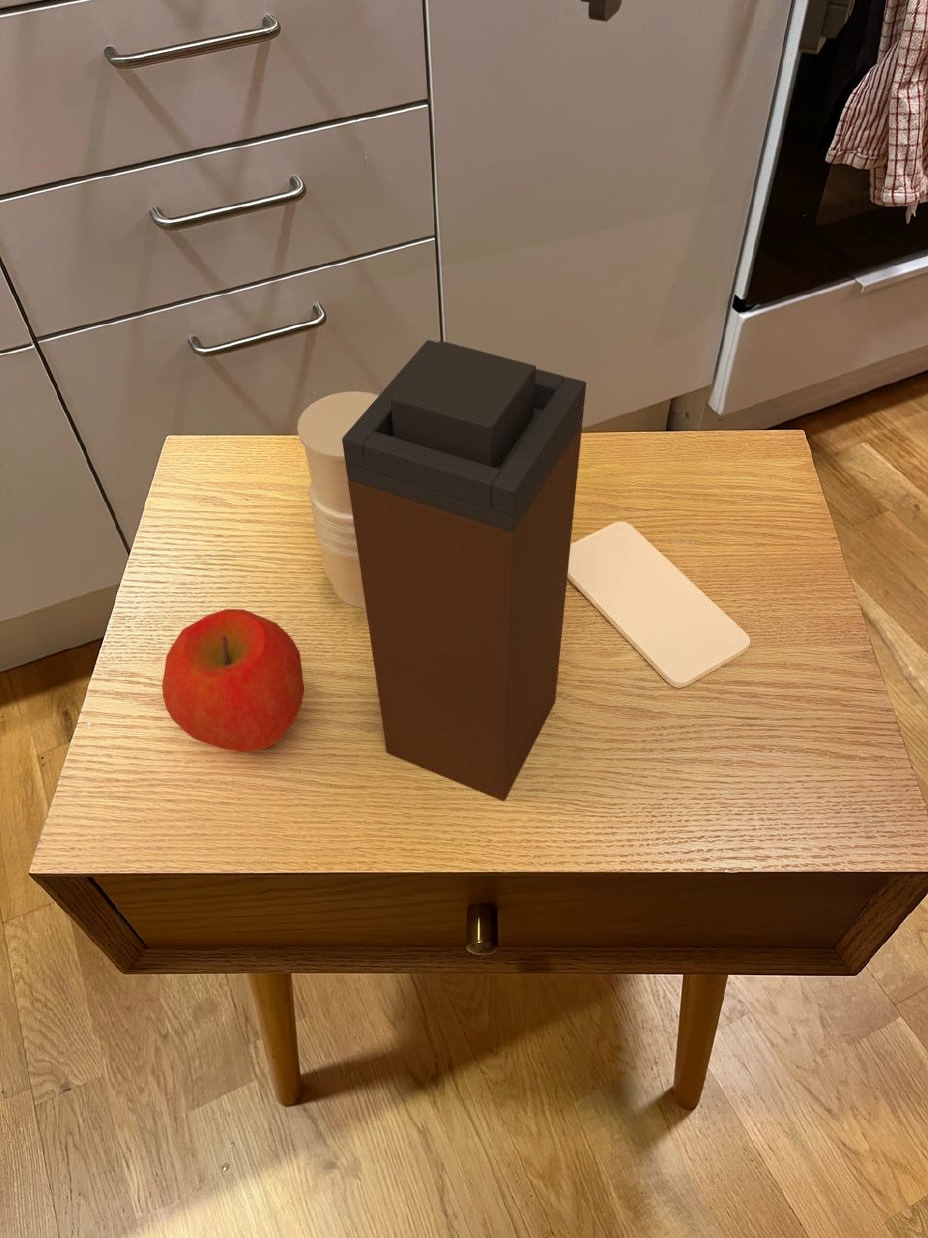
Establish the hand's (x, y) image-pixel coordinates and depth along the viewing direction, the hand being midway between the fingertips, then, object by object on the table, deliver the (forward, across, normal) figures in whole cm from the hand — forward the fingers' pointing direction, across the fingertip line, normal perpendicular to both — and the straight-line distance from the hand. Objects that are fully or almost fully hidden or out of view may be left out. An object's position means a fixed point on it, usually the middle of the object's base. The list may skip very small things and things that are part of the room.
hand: (705, 30), depth 38 cm
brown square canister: (+40, -6, -10) cm, 42 cm away
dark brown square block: (+15, -6, -10) cm, 19 cm away
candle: (+40, -19, -1) cm, 45 cm away
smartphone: (+40, +1, +6) cm, 40 cm away
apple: (+40, -19, -17) cm, 48 cm away
